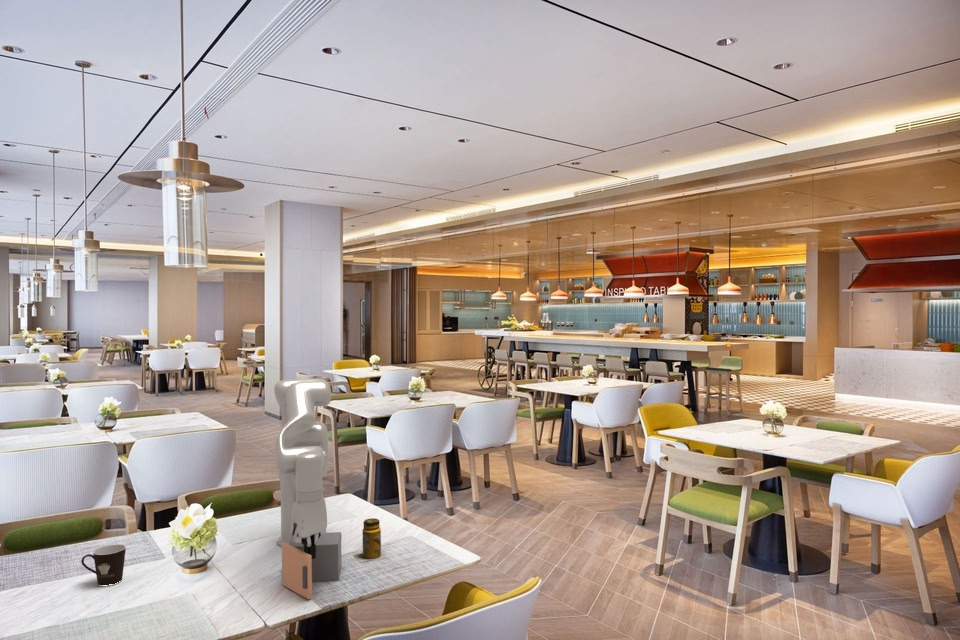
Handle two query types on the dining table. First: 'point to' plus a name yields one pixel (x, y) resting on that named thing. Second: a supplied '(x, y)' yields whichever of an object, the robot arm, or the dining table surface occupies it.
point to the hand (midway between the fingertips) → (310, 558)
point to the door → (297, 570)
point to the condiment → (371, 541)
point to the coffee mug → (108, 563)
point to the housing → (325, 557)
